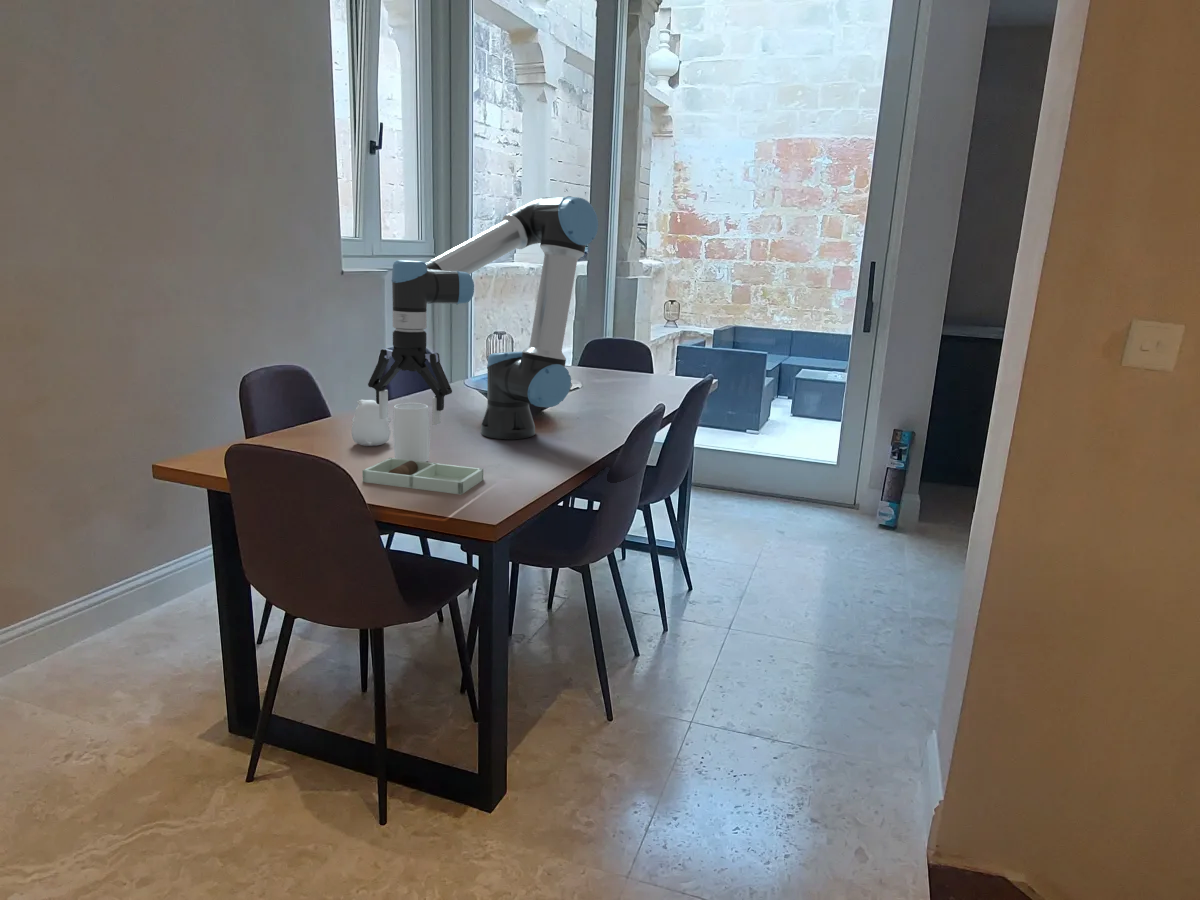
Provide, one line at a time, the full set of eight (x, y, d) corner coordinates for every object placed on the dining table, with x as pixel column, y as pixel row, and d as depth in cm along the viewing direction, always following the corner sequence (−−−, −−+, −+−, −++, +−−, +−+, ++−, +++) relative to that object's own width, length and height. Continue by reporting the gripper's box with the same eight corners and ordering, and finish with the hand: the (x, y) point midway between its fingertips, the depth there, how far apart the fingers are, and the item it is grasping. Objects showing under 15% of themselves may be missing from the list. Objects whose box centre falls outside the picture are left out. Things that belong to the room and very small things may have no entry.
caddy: (390, 470, 182) (389, 457, 181) (483, 481, 176) (483, 468, 175) (362, 483, 171) (362, 470, 170) (461, 496, 165) (461, 482, 165)
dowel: (404, 469, 179) (408, 458, 178) (415, 475, 178) (419, 464, 177) (386, 479, 171) (390, 467, 170) (397, 485, 171) (401, 473, 170)
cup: (408, 458, 193) (407, 401, 189) (437, 462, 190) (436, 405, 186) (386, 466, 185) (384, 406, 181) (416, 471, 182) (415, 411, 178)
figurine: (389, 450, 199) (387, 403, 196) (348, 450, 197) (347, 403, 194) (392, 440, 208) (391, 396, 205) (354, 440, 207) (352, 395, 204)
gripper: (351, 326, 179) (353, 418, 184) (452, 335, 173) (451, 429, 178) (369, 324, 186) (370, 412, 191) (467, 332, 180) (465, 423, 185)
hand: (409, 421), depth 184 cm, fingers open, 13 cm apart
